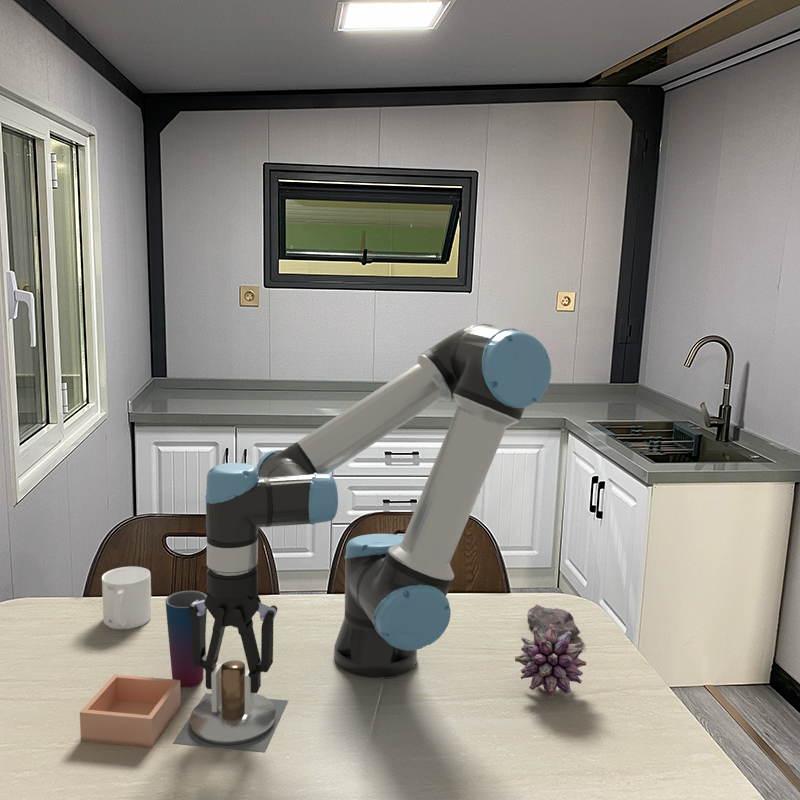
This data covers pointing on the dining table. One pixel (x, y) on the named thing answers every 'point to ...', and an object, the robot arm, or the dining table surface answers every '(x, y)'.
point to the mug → (126, 597)
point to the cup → (183, 637)
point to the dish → (130, 711)
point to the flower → (551, 661)
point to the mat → (257, 745)
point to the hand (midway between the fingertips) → (233, 708)
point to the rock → (552, 621)
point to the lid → (232, 712)
